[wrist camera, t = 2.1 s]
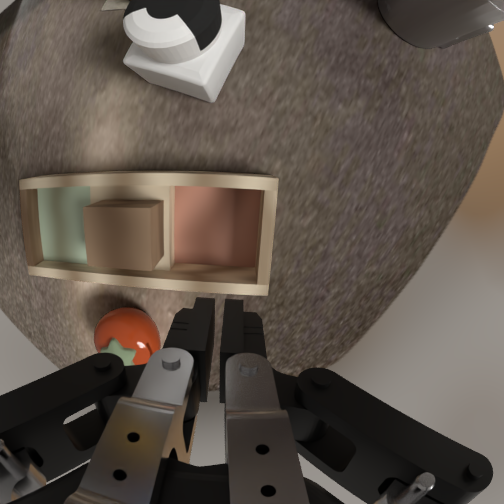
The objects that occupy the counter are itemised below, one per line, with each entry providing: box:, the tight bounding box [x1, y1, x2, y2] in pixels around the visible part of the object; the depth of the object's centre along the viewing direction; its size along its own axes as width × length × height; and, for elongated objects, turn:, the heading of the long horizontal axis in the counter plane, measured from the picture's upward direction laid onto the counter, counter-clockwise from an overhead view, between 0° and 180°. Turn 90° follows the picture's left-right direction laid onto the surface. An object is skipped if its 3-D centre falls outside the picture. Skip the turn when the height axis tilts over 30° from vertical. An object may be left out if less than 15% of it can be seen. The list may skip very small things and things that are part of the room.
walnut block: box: [83, 200, 164, 271], centre depth 23 cm, size 6×5×4 cm
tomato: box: [94, 307, 161, 366], centre depth 27 cm, size 7×7×8 cm
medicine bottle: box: [123, 0, 245, 103], centre depth 17 cm, size 7×7×12 cm
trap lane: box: [19, 171, 279, 296], centre depth 25 cm, size 25×10×4 cm, turn 86°
